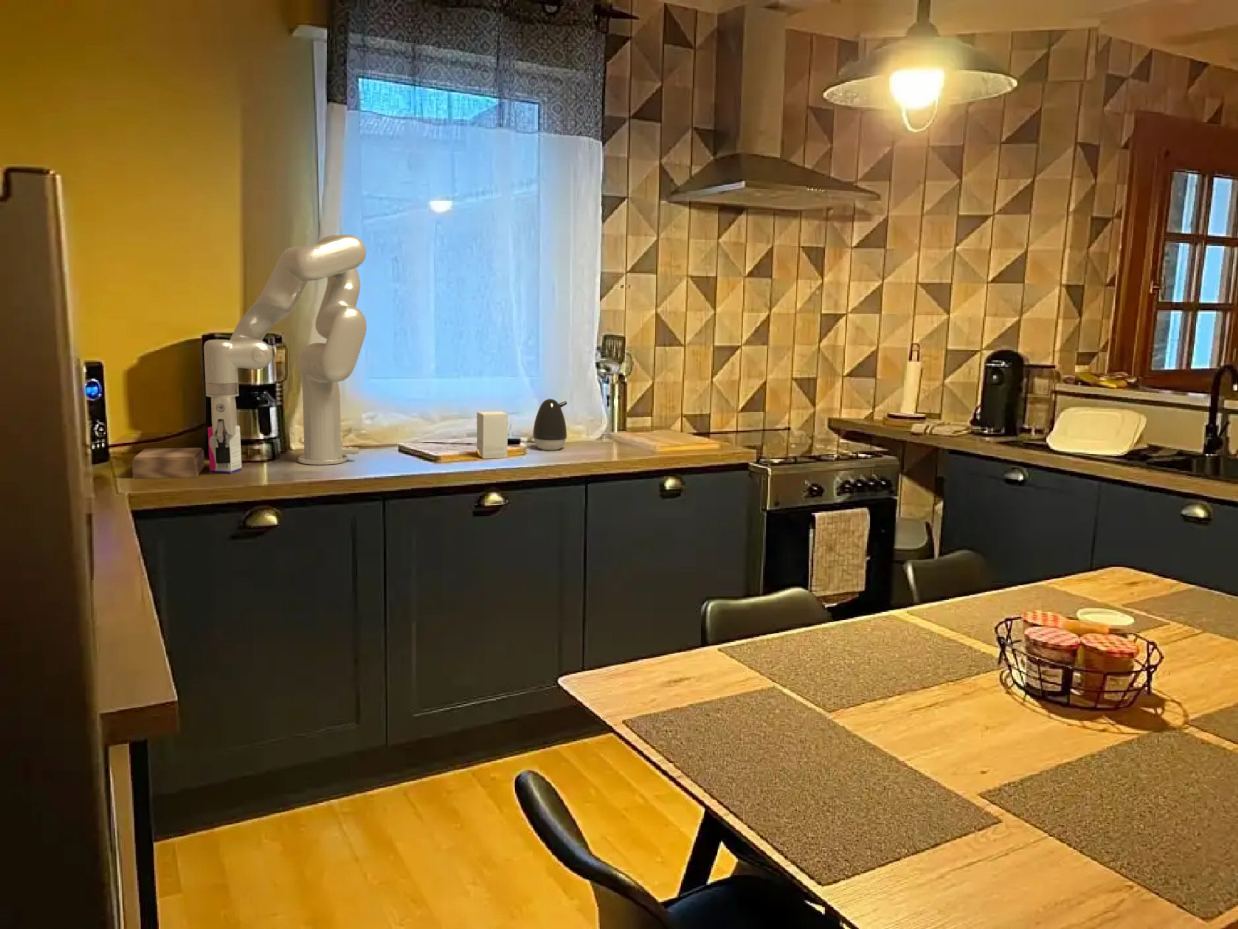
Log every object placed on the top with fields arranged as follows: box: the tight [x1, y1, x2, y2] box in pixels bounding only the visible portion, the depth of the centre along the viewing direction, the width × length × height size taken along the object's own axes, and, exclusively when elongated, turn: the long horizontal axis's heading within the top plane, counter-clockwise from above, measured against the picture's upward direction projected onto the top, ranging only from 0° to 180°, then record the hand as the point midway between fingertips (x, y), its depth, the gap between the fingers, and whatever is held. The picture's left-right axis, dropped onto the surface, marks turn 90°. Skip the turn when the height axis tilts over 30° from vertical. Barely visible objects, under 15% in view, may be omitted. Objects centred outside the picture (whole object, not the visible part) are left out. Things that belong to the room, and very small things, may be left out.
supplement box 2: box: [476, 410, 509, 460], centre depth 274 cm, size 7×7×13 cm
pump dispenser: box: [532, 398, 568, 452], centre depth 290 cm, size 10×10×15 cm
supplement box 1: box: [207, 425, 242, 475], centre depth 242 cm, size 6×6×12 cm
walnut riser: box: [131, 447, 205, 479], centre depth 239 cm, size 14×14×5 cm
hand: (225, 460), depth 242 cm, fingers closed on supplement box 1, 7 cm apart
